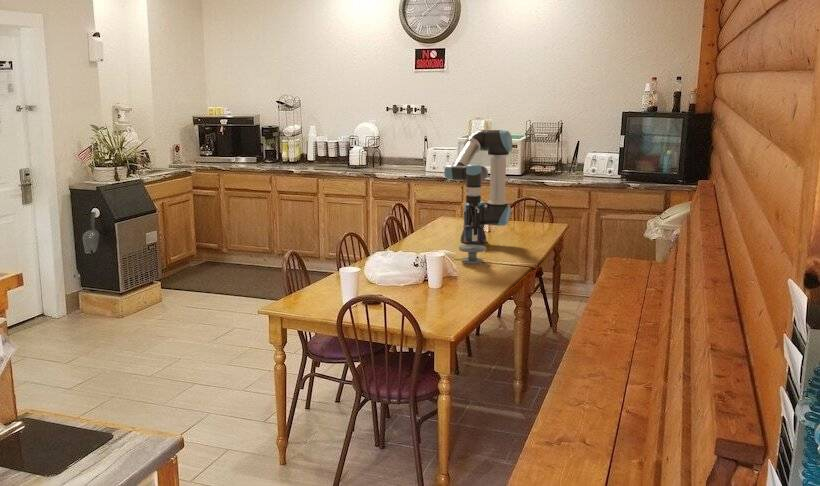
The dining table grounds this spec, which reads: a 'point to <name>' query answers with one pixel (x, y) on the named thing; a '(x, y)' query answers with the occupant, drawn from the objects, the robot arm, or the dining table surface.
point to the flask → (469, 234)
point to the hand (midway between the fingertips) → (472, 239)
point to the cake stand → (472, 253)
